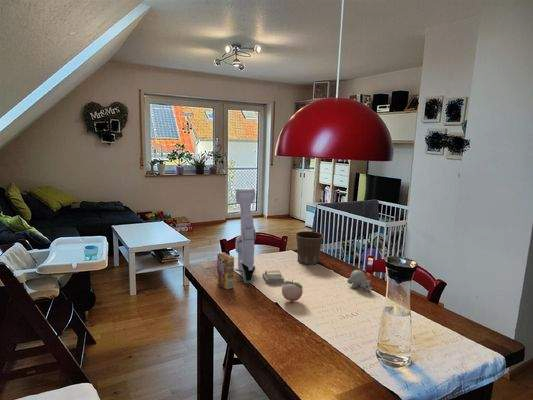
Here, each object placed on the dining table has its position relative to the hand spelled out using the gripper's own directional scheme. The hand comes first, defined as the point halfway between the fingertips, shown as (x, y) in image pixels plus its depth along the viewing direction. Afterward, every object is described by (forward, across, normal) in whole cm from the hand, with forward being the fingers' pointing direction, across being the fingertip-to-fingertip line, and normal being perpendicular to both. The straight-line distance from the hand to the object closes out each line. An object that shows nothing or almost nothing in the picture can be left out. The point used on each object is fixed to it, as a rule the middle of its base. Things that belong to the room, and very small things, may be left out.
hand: (247, 278), depth 169 cm
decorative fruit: (+2, +25, +15) cm, 29 cm away
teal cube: (+1, 0, 0) cm, 1 cm away
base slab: (+2, 0, +13) cm, 13 cm away
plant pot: (+2, -22, +40) cm, 46 cm away
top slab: (0, 0, +13) cm, 13 cm away
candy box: (+2, +3, -11) cm, 12 cm away
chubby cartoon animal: (+2, +18, +52) cm, 55 cm away
